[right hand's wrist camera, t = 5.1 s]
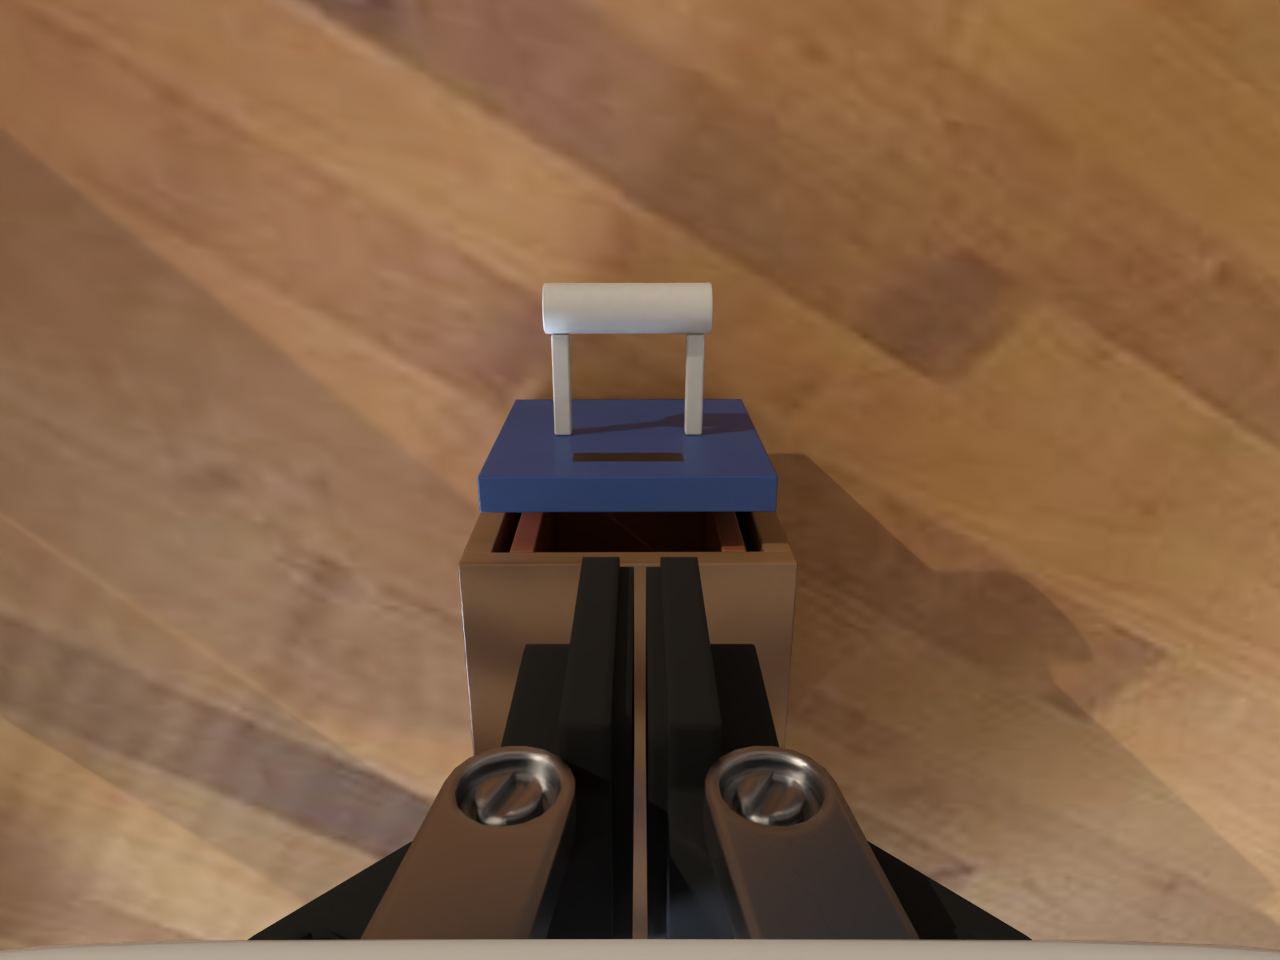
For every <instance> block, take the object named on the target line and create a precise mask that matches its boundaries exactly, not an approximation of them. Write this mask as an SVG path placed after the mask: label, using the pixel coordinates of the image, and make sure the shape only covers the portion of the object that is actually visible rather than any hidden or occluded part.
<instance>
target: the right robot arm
mask: <svg viewBox="0 0 1280 960" xmlns="http://www.w3.org/2000/svg"><path fill="white" fill-rule="evenodd" d="M634 739H635V714H634V567H620V557H583V558H582V564H581V571H580V578H579V584H578V591H577V598H576V605H575V612H574V619H573V626H572V632H571V639H570V644H526V645H525V648H524V651H523V656H522V660H521V664H520V668H519V672H518V677H517V681H516V685H515V689H514V693H513V697H512V702H511V706H510V710H509V714H508V718H507V723H506V727H505V731H504V735H503V739H502V744H501V747H500V748H495V749H491V750H487V751H484V752H482V753H480V754H477V755H475V756H473V757H470V758H469V759H467V760H466V761H465V762H463V763H462V764H460V765H459V766H458V767H456V768H455V769H454V770H453V772H452V773H451V774H450V775H449V777H448V778H447V779H446V781H445V782H444V784H443V786H442V788H441V789H440V791H439V793H438V795H437V797H436V799H435V801H434V802H433V804H432V806H431V808H430V810H429V812H428V814H427V816H426V817H425V819H424V821H423V823H422V825H421V827H420V829H419V830H418V832H417V834H416V836H415V838H414V840H413V841H412V842H410V843H408V844H407V845H405V846H403V847H402V848H400V849H398V850H397V851H395V852H393V853H392V854H390V855H388V856H386V857H385V858H383V859H381V860H380V861H378V862H376V863H375V864H373V865H371V866H370V867H368V868H366V869H365V870H363V871H361V872H360V873H358V874H356V875H355V876H353V877H351V878H350V879H348V880H346V881H345V882H343V883H341V884H340V885H338V886H336V887H334V888H333V889H331V890H329V891H328V892H326V893H324V894H323V895H321V896H319V897H318V898H316V899H314V900H313V901H311V902H309V903H308V904H306V905H304V906H303V907H301V908H299V909H298V910H296V911H294V912H293V913H291V914H289V915H288V916H286V917H284V918H283V919H281V920H279V921H277V922H276V923H274V924H272V925H271V926H269V927H267V928H266V929H264V930H262V931H261V932H259V933H257V934H256V935H254V936H253V937H251V938H250V939H248V940H215V941H149V942H122V943H96V944H70V945H45V946H36V947H27V948H18V949H9V950H0V960H1280V950H1271V949H1262V948H1253V947H1244V946H1235V945H1210V944H1184V943H1158V942H1131V941H1065V940H1032V939H1030V938H1029V937H1027V936H1026V935H1024V934H1023V933H1021V932H1019V931H1018V930H1016V929H1014V928H1013V927H1011V926H1009V925H1008V924H1006V923H1004V922H1003V921H1001V920H999V919H997V918H996V917H994V916H992V915H991V914H989V913H987V912H986V911H984V910H982V909H981V908H979V907H977V906H976V905H974V904H972V903H971V902H969V901H967V900H966V899H964V898H962V897H961V896H959V895H957V894H956V893H954V892H952V891H951V890H949V889H947V888H946V887H944V886H942V885H940V884H939V883H937V882H935V881H934V880H932V879H930V878H929V877H927V876H925V875H924V874H922V873H920V872H919V871H917V870H915V869H914V868H912V867H910V866H909V865H907V864H905V863H904V862H902V861H900V860H899V859H897V858H895V857H894V856H892V855H890V854H888V853H887V852H885V851H883V850H882V849H880V848H878V847H877V846H875V845H873V844H872V843H870V842H868V841H867V840H866V838H865V836H864V834H863V832H862V830H861V829H860V827H859V825H858V823H857V821H856V819H855V817H854V816H853V814H852V812H851V810H850V808H849V806H848V804H847V802H846V801H845V799H844V797H843V795H842V793H841V791H840V789H839V788H838V786H837V784H836V782H835V781H834V779H833V778H832V777H831V775H830V774H829V773H828V772H827V770H826V769H825V768H824V767H822V766H821V765H820V764H818V763H817V762H815V761H814V760H813V759H811V758H810V757H807V756H805V755H803V754H800V753H798V752H796V751H793V750H789V749H785V748H780V747H779V744H778V739H777V735H776V731H775V727H774V723H773V718H772V714H771V710H770V706H769V702H768V697H767V693H766V689H765V685H764V681H763V677H762V672H761V668H760V664H759V660H758V656H757V651H756V648H755V645H754V644H710V639H709V632H708V626H707V619H706V612H705V605H704V598H703V591H702V584H701V578H700V571H699V564H698V558H697V557H660V567H646V714H645V739H646V848H647V939H633V848H634Z"/></svg>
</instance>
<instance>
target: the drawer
mask: <svg viewBox="0 0 1280 960" xmlns="http://www.w3.org/2000/svg"><path fill="white" fill-rule="evenodd" d="M542 311H543V325H544V331H545V333H546V334H552V336H551V347H552V374H553V400H516V401H515V403H514V405H513V407H512V409H511V411H510V413H509V415H508V417H507V419H506V421H505V423H504V425H503V427H502V429H501V431H500V433H499V435H498V437H497V439H496V441H495V443H494V445H493V448H492V450H491V452H490V454H489V456H488V458H487V460H486V462H485V464H484V466H483V468H482V470H481V472H480V474H479V476H478V492H479V507H480V512H522V514H521V518H520V521H519V524H518V527H517V530H516V533H515V537H514V540H513V543H512V546H511V549H510V553H528V552H747V551H746V547H745V544H744V541H743V537H742V534H741V531H740V527H739V524H738V521H737V517H736V514H735V512H774V511H776V501H777V484H778V476H777V474H776V472H775V470H774V468H773V466H772V463H771V461H770V459H769V457H768V455H767V453H766V451H765V449H764V446H763V444H762V442H761V440H760V438H759V436H758V434H757V431H756V429H755V427H754V425H753V423H752V421H751V419H750V417H749V414H748V412H747V410H746V408H745V406H744V404H743V402H742V400H741V399H703V381H704V343H705V336H704V334H709V333H711V329H712V320H713V290H712V285H711V283H545V284H544V286H543V295H542ZM570 334H686V369H685V399H604V400H572V395H571V359H570Z"/></svg>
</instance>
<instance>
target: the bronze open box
mask: <svg viewBox="0 0 1280 960" xmlns="http://www.w3.org/2000/svg"><path fill="white" fill-rule="evenodd" d="M521 514H522V512H481V513H480V515H479V518H478V520H477V522H476V525H475V527H474V529H473V531H472V534H471V536H470V538H469V541H468V543H467V545H466V548H465V550H464V552H463V555H462V557H461V560H460V562H459V564H458V572H459V584H460V596H461V608H462V621H463V633H464V645H465V657H466V670H467V682H468V694H469V706H470V719H471V731H472V743H473V755H474V756H475V755H477V754H480V753H482V752H484V751H487V750H491V749H495V748H500V747H501V744H502V739H503V735H504V731H505V727H506V723H507V718H508V714H509V710H510V706H511V702H512V697H513V693H514V689H515V685H516V681H517V677H518V672H519V668H520V664H521V660H522V656H523V651H524V648H525V645H526V644H570V639H571V632H572V626H573V619H574V612H575V605H576V598H577V591H578V584H579V578H580V571H581V564H582V558H583V557H620V567H634V714H635V739H634V848H633V939H647V848H646V739H645V714H646V567H660V557H697V558H698V564H699V571H700V578H701V584H702V591H703V598H704V605H705V612H706V619H707V626H708V632H709V639H710V644H754V645H755V648H756V651H757V656H758V660H759V664H760V668H761V672H762V677H763V681H764V685H765V689H766V693H767V697H768V702H769V706H770V710H771V714H772V718H773V723H774V727H775V731H776V735H777V739H778V744H779V747H780V748H785V736H786V722H787V708H788V694H789V680H790V666H791V652H792V638H793V624H794V610H795V596H796V582H797V568H798V564H797V561H796V559H795V556H794V554H793V552H792V549H791V547H790V544H789V542H788V540H787V537H786V535H785V532H784V530H783V528H782V525H781V523H780V520H779V518H778V516H777V513H776V511H774V512H735V514H736V517H737V521H738V524H739V527H740V531H741V534H742V537H743V541H744V544H745V547H746V551H747V552H528V553H510V549H511V546H512V543H513V540H514V537H515V533H516V530H517V527H518V524H519V521H520V518H521Z"/></svg>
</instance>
